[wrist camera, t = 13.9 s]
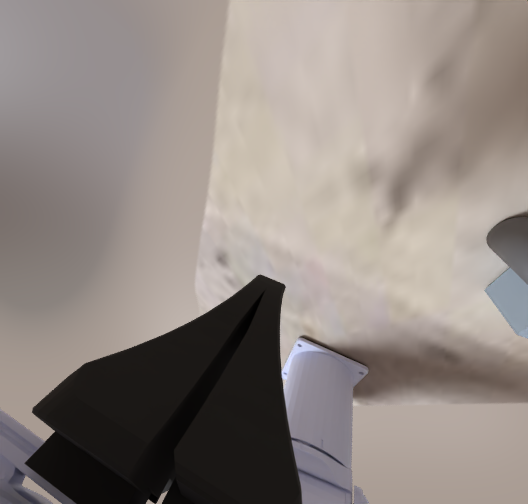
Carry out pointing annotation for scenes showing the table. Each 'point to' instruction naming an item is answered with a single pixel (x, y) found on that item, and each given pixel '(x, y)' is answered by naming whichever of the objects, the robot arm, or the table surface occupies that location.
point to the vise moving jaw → (511, 272)
